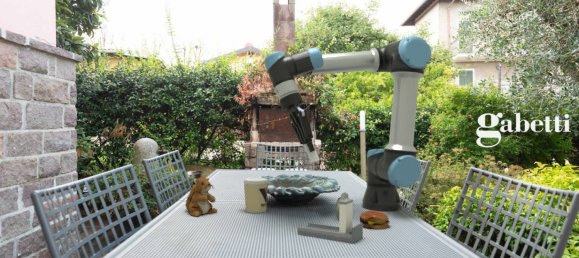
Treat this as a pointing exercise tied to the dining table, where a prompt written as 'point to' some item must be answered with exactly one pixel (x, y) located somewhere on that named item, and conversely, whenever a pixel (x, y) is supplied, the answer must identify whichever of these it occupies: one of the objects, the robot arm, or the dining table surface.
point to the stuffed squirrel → (200, 198)
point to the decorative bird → (343, 196)
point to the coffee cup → (256, 194)
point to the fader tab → (345, 216)
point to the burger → (374, 219)
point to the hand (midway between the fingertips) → (315, 161)
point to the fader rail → (332, 232)
